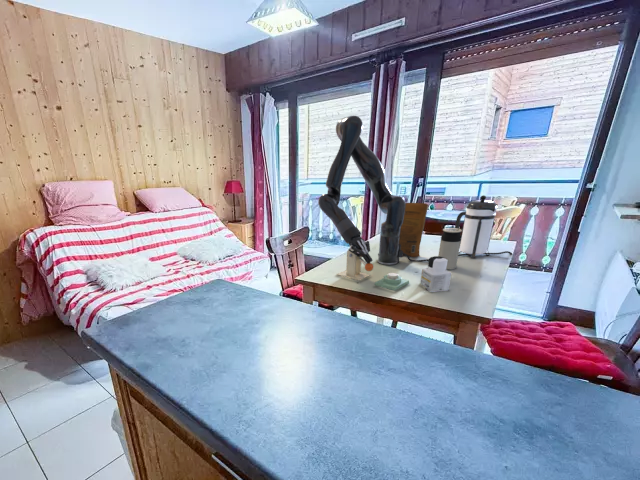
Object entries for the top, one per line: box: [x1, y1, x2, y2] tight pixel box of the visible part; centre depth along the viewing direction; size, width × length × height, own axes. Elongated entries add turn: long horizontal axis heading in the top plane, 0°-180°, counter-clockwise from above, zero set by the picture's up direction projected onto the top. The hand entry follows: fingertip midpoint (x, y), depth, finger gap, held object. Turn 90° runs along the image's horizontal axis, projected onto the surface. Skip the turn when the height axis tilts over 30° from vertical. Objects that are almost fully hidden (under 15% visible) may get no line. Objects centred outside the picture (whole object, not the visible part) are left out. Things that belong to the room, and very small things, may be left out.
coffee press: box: [454, 194, 498, 259], centre depth 165 cm, size 17×16×30 cm
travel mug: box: [437, 227, 462, 270], centre depth 152 cm, size 8×8×18 cm
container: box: [419, 255, 452, 293], centre depth 131 cm, size 8×8×13 cm
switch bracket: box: [336, 249, 371, 281], centre depth 148 cm, size 12×9×13 cm
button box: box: [374, 274, 410, 291], centre depth 137 cm, size 11×9×4 cm
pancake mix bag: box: [399, 202, 429, 258], centre depth 171 cm, size 7×19×28 cm, turn 43°
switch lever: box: [356, 253, 374, 272], centre depth 144 cm, size 12×4×4 cm, turn 40°
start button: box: [387, 272, 399, 279], centre depth 136 cm, size 4×4×2 cm
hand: (370, 262), depth 141 cm, fingers closed
